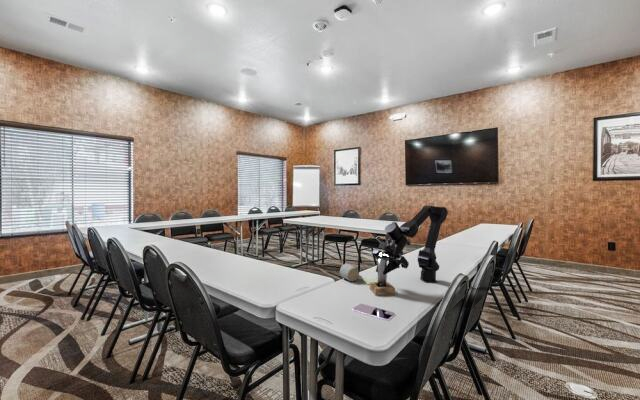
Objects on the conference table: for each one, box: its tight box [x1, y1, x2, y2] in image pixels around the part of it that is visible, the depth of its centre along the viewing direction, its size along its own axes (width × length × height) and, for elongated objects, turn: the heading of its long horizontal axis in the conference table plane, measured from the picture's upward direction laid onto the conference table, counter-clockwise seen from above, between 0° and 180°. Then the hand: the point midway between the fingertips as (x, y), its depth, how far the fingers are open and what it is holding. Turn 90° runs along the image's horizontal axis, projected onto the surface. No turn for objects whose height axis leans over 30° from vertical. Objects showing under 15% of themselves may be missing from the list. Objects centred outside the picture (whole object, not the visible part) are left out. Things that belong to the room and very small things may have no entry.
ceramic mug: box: [339, 263, 363, 282], centre depth 150 cm, size 11×8×8 cm
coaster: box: [361, 277, 378, 286], centre depth 147 cm, size 10×10×1 cm
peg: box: [377, 258, 388, 287], centre depth 132 cm, size 4×4×13 cm
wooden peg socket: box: [369, 281, 396, 296], centre depth 132 cm, size 9×9×3 cm
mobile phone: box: [351, 303, 396, 322], centre depth 110 cm, size 8×1×15 cm
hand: (379, 273), depth 131 cm, fingers closed on peg, 4 cm apart
